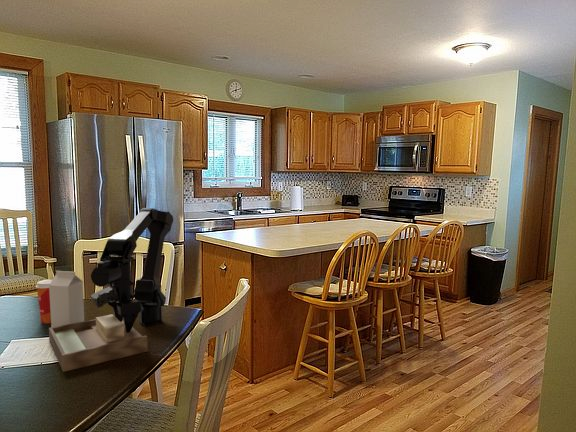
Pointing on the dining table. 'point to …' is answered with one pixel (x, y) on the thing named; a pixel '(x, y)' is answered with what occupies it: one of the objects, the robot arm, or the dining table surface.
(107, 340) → the cream rectangular block
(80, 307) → the milk carton
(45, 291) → the paper cup
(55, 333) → the open tray box
